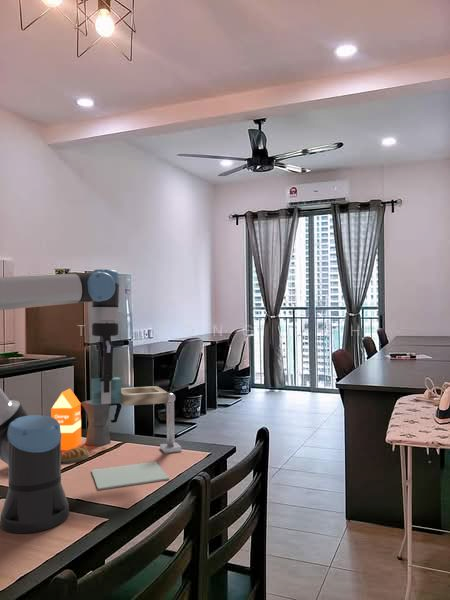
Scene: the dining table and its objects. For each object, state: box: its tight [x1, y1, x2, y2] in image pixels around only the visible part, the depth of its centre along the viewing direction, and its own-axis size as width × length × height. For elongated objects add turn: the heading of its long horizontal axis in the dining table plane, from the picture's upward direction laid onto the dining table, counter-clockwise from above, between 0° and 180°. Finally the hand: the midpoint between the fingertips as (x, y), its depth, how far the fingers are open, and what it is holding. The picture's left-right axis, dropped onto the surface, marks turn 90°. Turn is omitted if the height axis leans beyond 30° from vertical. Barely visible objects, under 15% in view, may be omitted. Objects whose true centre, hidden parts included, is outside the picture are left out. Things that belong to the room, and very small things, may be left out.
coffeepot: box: [80, 399, 123, 447], centre depth 179 cm, size 15×9×18 cm, turn 86°
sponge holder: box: [90, 376, 169, 407], centre depth 145 cm, size 21×13×7 cm, turn 112°
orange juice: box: [50, 388, 82, 451], centre depth 174 cm, size 8×9×20 cm
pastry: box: [61, 445, 90, 464], centre depth 160 cm, size 9×7×4 cm
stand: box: [159, 392, 183, 454], centre depth 169 cm, size 6×6×20 cm
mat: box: [90, 461, 170, 491], centre depth 144 cm, size 20×16×1 cm
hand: (104, 401), depth 142 cm, fingers closed on sponge holder, 4 cm apart
